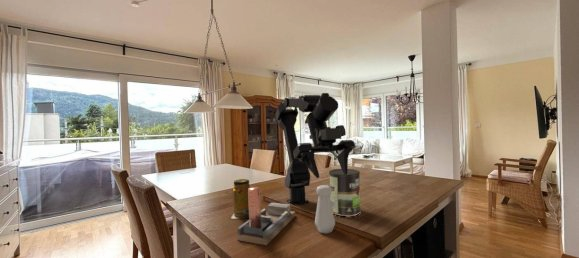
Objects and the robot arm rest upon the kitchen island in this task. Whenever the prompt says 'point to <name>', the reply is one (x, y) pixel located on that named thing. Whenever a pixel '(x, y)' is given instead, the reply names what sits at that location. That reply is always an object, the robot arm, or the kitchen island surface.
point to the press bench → (280, 220)
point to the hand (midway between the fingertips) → (332, 176)
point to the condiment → (241, 199)
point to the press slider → (256, 214)
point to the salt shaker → (324, 210)
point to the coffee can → (345, 191)
